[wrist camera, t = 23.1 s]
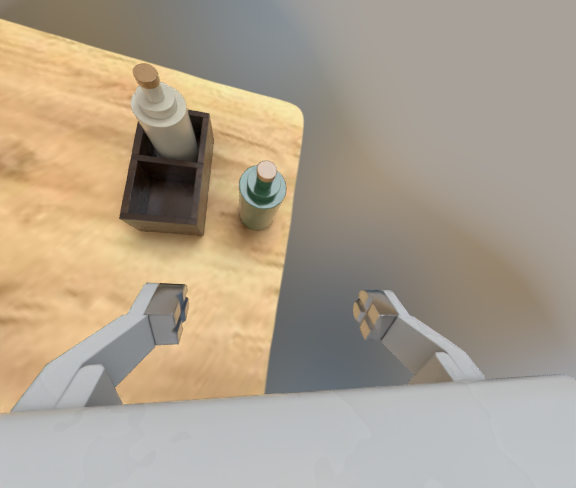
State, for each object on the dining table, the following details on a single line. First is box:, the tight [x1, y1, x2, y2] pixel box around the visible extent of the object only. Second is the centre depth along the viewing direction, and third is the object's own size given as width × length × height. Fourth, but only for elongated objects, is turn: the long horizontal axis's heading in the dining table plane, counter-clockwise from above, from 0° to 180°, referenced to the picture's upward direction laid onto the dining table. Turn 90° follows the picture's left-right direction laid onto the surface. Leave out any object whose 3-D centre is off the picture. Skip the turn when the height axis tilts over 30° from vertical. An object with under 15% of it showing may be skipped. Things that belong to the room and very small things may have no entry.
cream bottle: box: [131, 63, 199, 163], centre depth 27 cm, size 6×6×14 cm
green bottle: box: [239, 161, 286, 231], centre depth 29 cm, size 6×6×14 cm
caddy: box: [119, 110, 214, 236], centre depth 31 cm, size 16×9×6 cm, turn 179°
